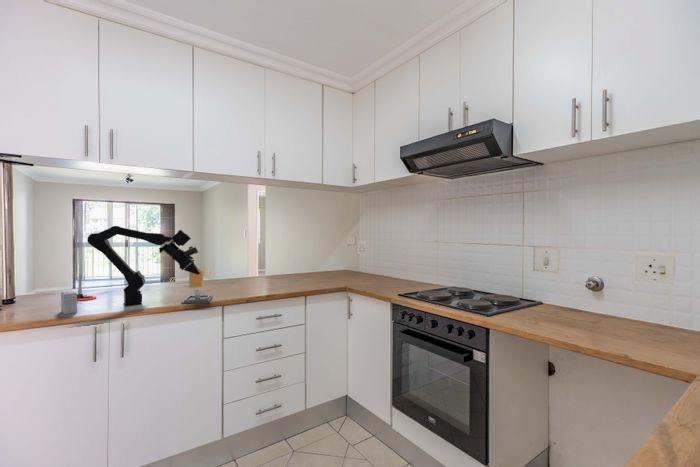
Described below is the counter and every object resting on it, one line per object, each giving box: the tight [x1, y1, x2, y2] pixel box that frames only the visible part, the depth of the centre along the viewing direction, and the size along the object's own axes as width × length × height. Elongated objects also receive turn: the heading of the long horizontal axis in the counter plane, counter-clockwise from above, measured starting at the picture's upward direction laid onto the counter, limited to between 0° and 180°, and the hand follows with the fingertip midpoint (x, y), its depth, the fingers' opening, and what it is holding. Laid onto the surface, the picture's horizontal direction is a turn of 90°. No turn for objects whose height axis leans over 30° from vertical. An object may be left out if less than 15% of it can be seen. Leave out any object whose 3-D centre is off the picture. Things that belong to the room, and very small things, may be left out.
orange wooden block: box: [188, 268, 204, 288], centre depth 167 cm, size 6×6×8 cm
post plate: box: [180, 289, 213, 305], centre depth 165 cm, size 12×12×5 cm
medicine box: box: [60, 290, 78, 315], centre depth 140 cm, size 8×4×9 cm, turn 48°
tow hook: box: [77, 273, 97, 302], centre depth 165 cm, size 8×13×9 cm
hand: (199, 273), depth 167 cm, fingers closed on orange wooden block, 6 cm apart
